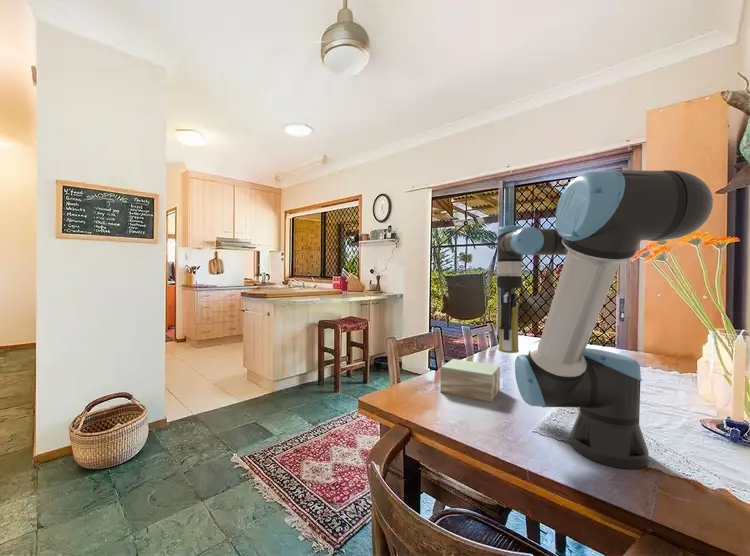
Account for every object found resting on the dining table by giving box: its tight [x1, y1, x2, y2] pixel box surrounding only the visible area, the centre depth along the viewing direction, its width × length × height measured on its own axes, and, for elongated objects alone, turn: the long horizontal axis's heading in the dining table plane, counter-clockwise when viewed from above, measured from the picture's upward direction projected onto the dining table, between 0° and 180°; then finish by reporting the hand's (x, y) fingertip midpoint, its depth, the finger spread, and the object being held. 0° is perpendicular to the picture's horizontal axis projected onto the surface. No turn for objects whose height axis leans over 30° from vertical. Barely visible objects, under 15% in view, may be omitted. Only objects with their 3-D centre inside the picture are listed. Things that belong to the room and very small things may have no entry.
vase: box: [497, 305, 520, 354], centre depth 108 cm, size 6×6×14 cm
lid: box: [440, 358, 501, 377], centre depth 119 cm, size 12×17×1 cm
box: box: [439, 367, 501, 403], centre depth 119 cm, size 13×17×8 cm
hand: (508, 348), depth 108 cm, fingers closed on vase, 6 cm apart
